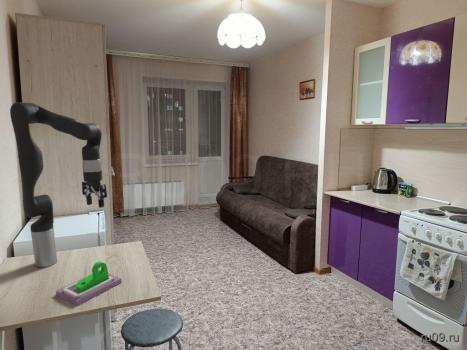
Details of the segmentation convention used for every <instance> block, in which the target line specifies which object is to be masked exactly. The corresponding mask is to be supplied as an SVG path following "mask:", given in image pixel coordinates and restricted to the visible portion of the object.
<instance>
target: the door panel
mask: <svg viewBox="0 0 467 350" xmlns="http://www.w3.org/2000/svg"><path fill="white" fill-rule="evenodd" d="M108 275H109V278H107V279H106V280H104V281H102V282H101V283H99V284H97V285H96V286H94V287H92V288H90V289H88V290H86V291H84V292H82V293H81V292H79V291H77V288H76V283H77V282H79V281H80V280H82V279H84V278H86V277H87V276H85V277H83V278H80V279H78V280H76V281H74V282H72V283H70V284H68V285H65V286H63V287H61V288H59V289H57V290H55V293H56V294H55V295H56V296H58V297H60V298H61V299H63V300H66V301H67V302H70V303H72V304H73V305H76V306H79V305H81V304H83V303H85V302H86V301H89V300H91V299H93V298H94V297H96V296H98V295H100V294H102V293H104V292H106V291H108V290H109V289H113V288H114V287H116V286H117V285H119V284H121V283H122V282H123V281H122V278H121V277H119V276H116V275H114V274H111V273H109V272H108Z"/></svg>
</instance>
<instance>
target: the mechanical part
mask: <svg viewBox="0 0 467 350" xmlns="http://www.w3.org/2000/svg"><path fill="white" fill-rule="evenodd" d="M108 270H109V269H108V265H107V264H106V263H105V262H102V261H96V262H95V263H94V264H93V266H92V268H91V274H89V275H87V276H85V277H86V278H85V277H83V278H84V279H83V278H81V279H82V280H80V279H79V280H80V281H79V282H77V283H76V288H77V291H79V292H81V293H82V292H84V291H86V290H88V289H90V288H92V287H94V286H96V285H97V284H99V283H101V282H102V281H104V280H106V279H107V278H109V275H108V273H109V271H108Z"/></svg>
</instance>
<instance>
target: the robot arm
mask: <svg viewBox="0 0 467 350" xmlns="http://www.w3.org/2000/svg"><path fill="white" fill-rule="evenodd" d="M9 115H10V121H11V124H12V128H13V131H14V137H15V142H16V149H17V156H18V157H17V158H18V164H19V165H18V166H19V172H20V177H21V178H20V179H21V186H22V207H23V211H24V214H25V216H26V217H27V218H30V219H31V218H36V217H39V218H38V219H37V220H36V221H35V220H34V222H32V223H31V224H30V225H29V226H30V228H29V229H30V234H31V243H32V251H33V258H34V265H35V267H36V268H46V267H51V266H53V265H56V263H58V256H57V246H56V238H55V230H54V222H55V221H54V219H55V218H54V204H53V200H52V198H51V196H50V195H48V194H39V195H35V188H36V184H37V182H38V181H39V179H40V176H41V174H42V173H43V171H44V158H43V152H42V151H41V149H40V147H39V146H38V144H37V143H36V141H35V140H34V139H33V137H32V135H31V130H30V125H31V124H40V125H47V126H50V127H51V128H52V129H54V130H55V131H58V132H61V133H64V134H66V135H67V134H68V135H71V136H72V137H74V138H76V139H78V140H81V141H86V144H85V145H84V146H82V148H81V158H82V159H81V160H82V176H83V177H82V178H83V181H82V182H81V192H82V195H83V196H85V199H86V205H88V206H91V205H93V198H92V195H93V194H94V196H95V197H97V201H98V202H97V204H98V208H99V209H101V208H104V207H105V199H106V198H108V192H107V185H106V183H104V184H103V183H102V182H101V181H102V180H103V170H102V161H101V156H100V155H101V153H100V152H101V151H100V148H101V143H102V135H103V133H102V129H101V127H100V126H99V124H97V123H94V122H90V123H89V122H87V123H84V122H81V121H79V120H78V119H75V118H73V117H69V116H66V115H63V114H58V113H55V112H52V111H50V110H48V109H46V108H44V107H42V106H40V105H38V104H35V103H33V102H21V101H20V102H18V101H17V102H14V103H12V105H11V106H10V110H9Z"/></svg>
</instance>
